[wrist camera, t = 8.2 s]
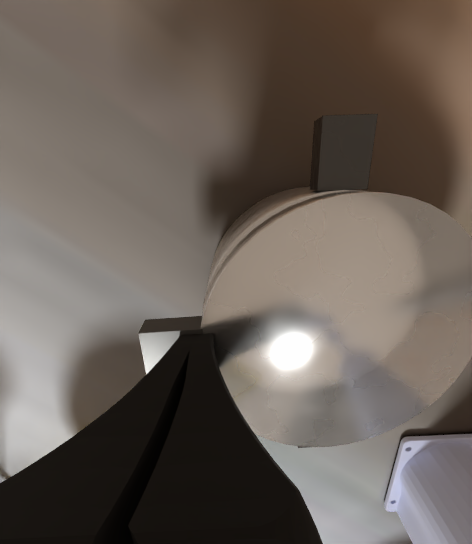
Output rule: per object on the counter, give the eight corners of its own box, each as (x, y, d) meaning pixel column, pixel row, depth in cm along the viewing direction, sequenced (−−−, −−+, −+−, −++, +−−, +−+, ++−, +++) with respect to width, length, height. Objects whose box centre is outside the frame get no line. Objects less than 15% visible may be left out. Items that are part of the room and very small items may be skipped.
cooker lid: (431, 417, 14) (446, 434, 13) (167, 442, 13) (163, 463, 12) (504, 185, 10) (534, 185, 9) (123, 199, 9) (113, 202, 8)
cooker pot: (374, 385, 20) (420, 450, 15) (217, 391, 19) (213, 460, 15) (425, 130, 14) (528, 106, 9) (198, 138, 13) (182, 117, 9)
